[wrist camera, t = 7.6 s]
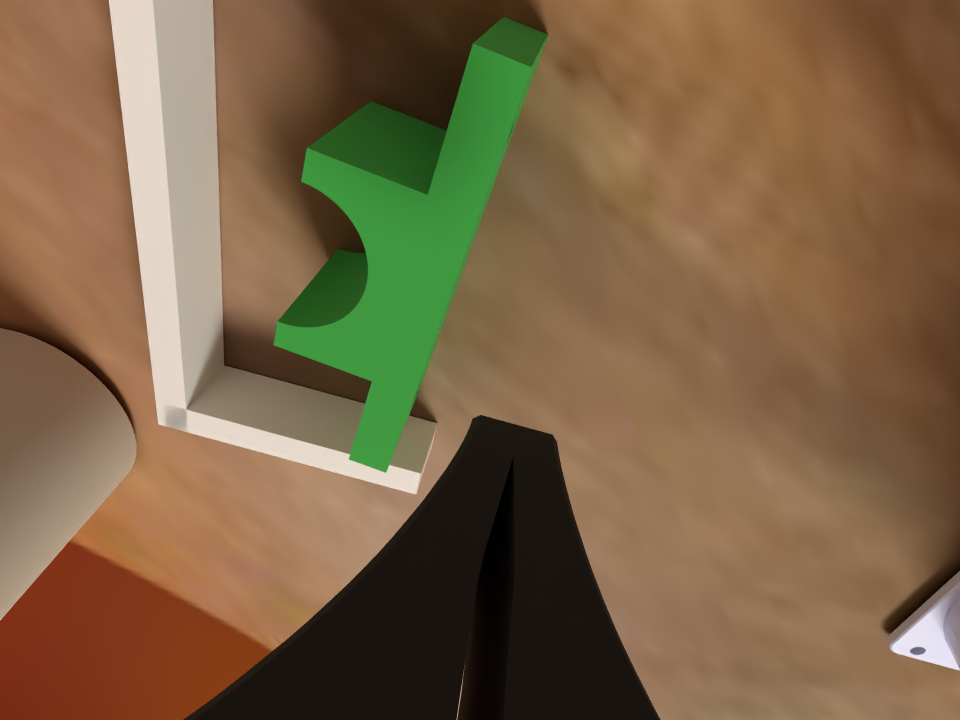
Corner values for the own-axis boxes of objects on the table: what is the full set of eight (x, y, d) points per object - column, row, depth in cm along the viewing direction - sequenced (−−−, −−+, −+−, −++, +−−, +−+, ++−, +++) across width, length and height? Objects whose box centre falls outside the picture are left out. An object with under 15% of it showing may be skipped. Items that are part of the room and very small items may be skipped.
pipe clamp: (401, -28, 15) (333, -17, 11) (549, 33, 15) (533, 64, 11) (318, 343, 21) (256, 430, 17) (423, 381, 21) (385, 476, 18)
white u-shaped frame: (567, -129, 13) (560, -140, 11) (432, 443, 23) (416, 494, 21) (159, -238, 13) (77, -269, 11) (198, 379, 23) (158, 424, 21)
